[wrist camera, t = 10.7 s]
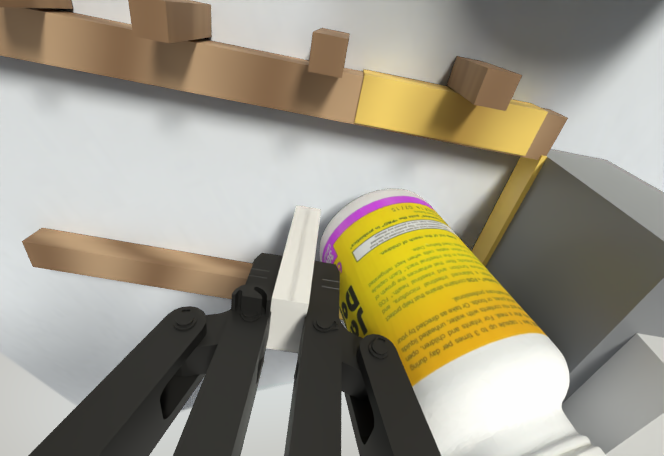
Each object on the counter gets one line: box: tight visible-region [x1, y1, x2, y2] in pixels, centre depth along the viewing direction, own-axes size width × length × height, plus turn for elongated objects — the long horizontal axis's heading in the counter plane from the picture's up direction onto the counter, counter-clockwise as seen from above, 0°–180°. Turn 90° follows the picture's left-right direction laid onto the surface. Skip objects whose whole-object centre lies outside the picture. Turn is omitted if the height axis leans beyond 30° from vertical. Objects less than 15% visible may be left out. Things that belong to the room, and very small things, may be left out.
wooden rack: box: [0, 0, 568, 320], centre depth 17 cm, size 27×16×4 cm, turn 80°
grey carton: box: [471, 149, 664, 456], centre depth 15 cm, size 4×11×11 cm, turn 170°
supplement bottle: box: [319, 189, 606, 456], centre depth 14 cm, size 7×7×13 cm
